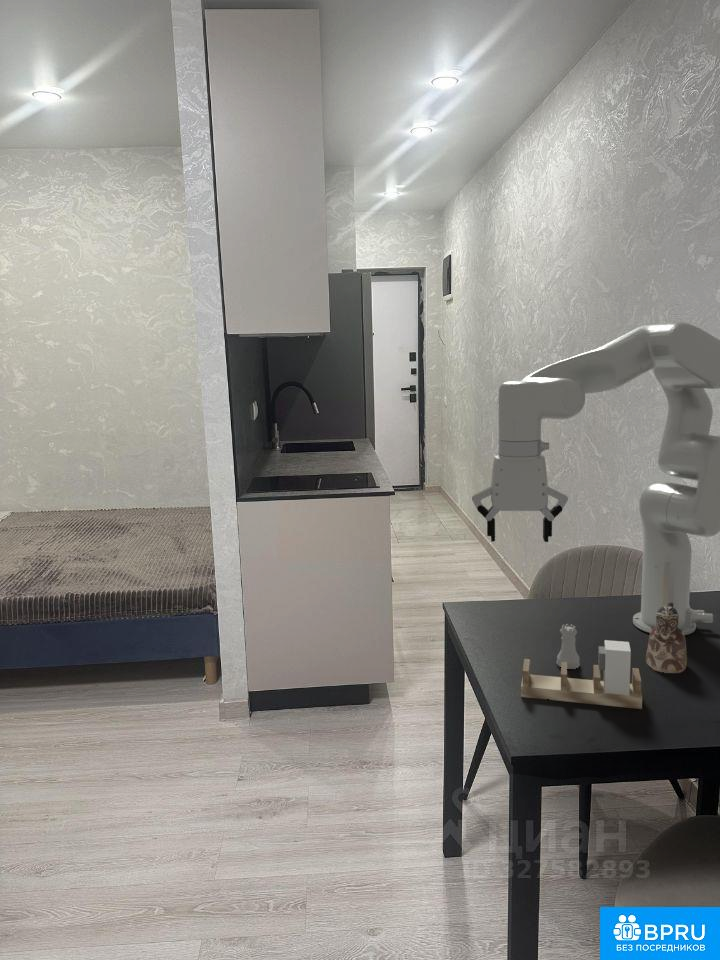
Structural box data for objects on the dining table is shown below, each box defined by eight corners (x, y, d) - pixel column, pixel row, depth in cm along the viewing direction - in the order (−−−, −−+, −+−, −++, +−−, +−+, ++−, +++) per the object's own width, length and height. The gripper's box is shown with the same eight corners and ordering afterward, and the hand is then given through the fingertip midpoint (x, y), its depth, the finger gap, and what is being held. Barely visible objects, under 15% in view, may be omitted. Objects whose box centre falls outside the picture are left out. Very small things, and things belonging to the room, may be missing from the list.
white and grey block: (627, 684, 122) (628, 641, 121) (629, 695, 118) (630, 651, 117) (597, 681, 124) (598, 639, 122) (598, 692, 120) (599, 649, 118)
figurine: (640, 666, 133) (642, 607, 131) (653, 653, 138) (655, 596, 136) (679, 676, 128) (682, 615, 126) (691, 663, 134) (694, 603, 131)
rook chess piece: (581, 671, 132) (582, 631, 131) (557, 670, 133) (557, 630, 132) (578, 661, 136) (579, 622, 135) (555, 659, 137) (555, 621, 136)
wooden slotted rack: (639, 695, 122) (639, 668, 121) (641, 709, 118) (642, 681, 117) (522, 683, 128) (522, 658, 127) (521, 696, 123) (521, 670, 122)
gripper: (566, 445, 129) (564, 535, 132) (471, 447, 132) (472, 534, 135) (571, 451, 121) (569, 546, 124) (471, 452, 124) (472, 545, 127)
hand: (519, 540), depth 130 cm, fingers open, 9 cm apart
